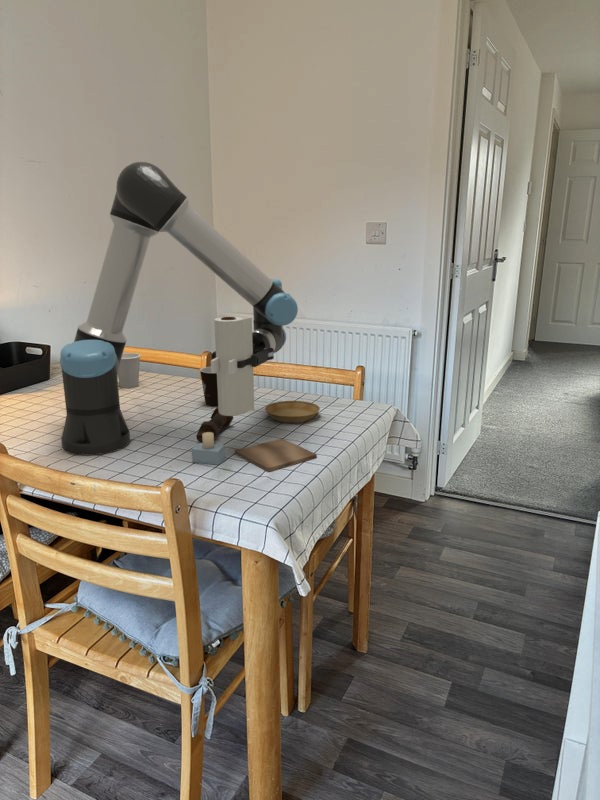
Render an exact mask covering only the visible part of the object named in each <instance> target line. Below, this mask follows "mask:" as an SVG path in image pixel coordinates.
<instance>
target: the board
mask: <svg viewBox="0 0 600 800" xmlns="http://www.w3.org/2000/svg"><path fill="white" fill-rule="evenodd" d="M234 454H235V455H236V456H238V457H240V458H241V459H243V460H246V461H247V462H249V463H250V464H252V465H255V466H257V467H259V469H262V470H264V471H266V472H267V473H269V472H272V471H276V470H281V469H283V468H287V467H289V466H294V465H296V464H299V463H302V462H307V461H310V460H314V459H317V456H318V454H317V453H315V452H312V451H311V450H308V449H307V448H303V447H302V446H299V445H297V444H295V443H293V442H291V441H289V440H287V439H284V438H277V439H274V440H270V441H265V442H262V443H258V444H254V445H253V444H252V445H249V446H247V447H246V446H245V447H242V448H239V449H234Z"/></svg>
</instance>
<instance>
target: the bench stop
mask: <svg viewBox="0 0 600 800" xmlns="http://www.w3.org/2000/svg"><path fill="white" fill-rule="evenodd" d="M202 439H203V443H200V442H198V443H197V444H196V445H195V446H193V448H191V457H192V458H191V459H192V463H199V464H207V465H215V466H219V465H220V464H221V463H222V462H223V461H224V460H225V459H226V445H225V444H224V445H223V444H215V439H214V433H212V432H205V433H203V434H202Z"/></svg>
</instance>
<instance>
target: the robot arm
mask: <svg viewBox="0 0 600 800" xmlns="http://www.w3.org/2000/svg"><path fill="white" fill-rule="evenodd" d="M115 187H116V188H115V189H116V191H115V195H114V198H113V203H112V205H111V210H110V212H109V217H110V219H111V222H112V224H113V227H112V231H111V235H110V238H109V242H108V245H107V248H106V252H105V256H104V260H103V263H102V266H101V270H100V273H99V277H98V281H97V283H96V287H95V290H94V291H95V292H94V294H93V298H92V301H91V305H90V307H89V308H90V310H89V312H88V316H87V319H86V321H85V322H83V323H82V324H80V325H78V327H77V331H76V334H75V337H74V340H73V342H72V343H68V344H66V345H64V346H63V347H62V349H61V350H60V352H59V353H60V358H59V364H60V365H59V366H60V367H61V374H62V385H63V393H64V402H65V410H66V411H65V412H66V417H65V422H64V426H63V429H62V434H61V437H60V440H61V449H62V448H63V449H62V450H63V451H64V452H66V453H69V454H72V455H77V456H81V455H82V456H92V455H93V456H94V455H95V456H96V455H101V454H107V453H111V452H112V453H113V452H115V451H119V450H121V449H123V448H125V447H127V446H128V445H129V444H130V443H131V433H130V432H131V431H130V429H129V427H128V425H127V422H126V420H125V417H124V415H123V412H122V410H121V405H120V403H121V402H120V392H119V391H120V390H119V379H118V368H119V365H120V361H121V357H122V354H123V353H124V350H125V346H126V344H127V338H126V337H125V334H124V333H123V332H124V328H125V324H126V321H127V317H128V314H129V312H130V311H129V310H130V307H131V303H132V301H133V297H134V294H135V290H136V288H137V284H138V281H139V277H140V274H141V270H142V267H143V264H144V261H145V257H146V255H147V254H146V253H147V250H148V248H149V243H150V240H151V238H152V237H154V236H157V235H158V234H159V232H160V233H167V234H169V235H170V237H172V238H173V239H175V240H176V241H177V242H178V243H179V244H180V245H181V246H183V247H184V248H185V249H186V250H187V251H188V252H189V253H190V254H191V255H193V256H194V257H195V258H196V259H197V260H199V261H200V262H201V263H202V264H204V265H205V266H206V267H207V268H208V269H209V270H210V271H211V272H212V273H214V274H215V275H216V276H217V277H218V278H219V279H221V280H222V282H224V283H225V284H227V285H228V286H229V287H230V288H231V289H232V290H233V291H234V292H236V293H237V294H238V295H240V297H242V299H244V300H245V301H246V302H248V303H249V305H251V306H252V308H253V309H252V310H253V311H252V313H253V314H252V315H253V319H252V325H253V330H252V342H253V355H252V356H251V358H248V359H246V360H242V361H238V360H237V358H236V359H232V360H230V361H228V372H229V374H233V373H235V372H236V371H238V368H244V367H245V366H247V365H252V367H253V368H256V367H258V366H260V365H262V364H264V363H266V362H268V361H270V360H274V357H275V354H276V353H277V352H279V351H280V350H281V349H282V348H283V346H284V345H285V344H286V341H287V333H286V330H285V329H284V327H283V326H287V325H290V324H291V323H292V322H293V321H295V319H296V317H297V316H298V312H299V308H298V304H297V302H296V300H295V298H293V296H292V295H291V294H289V293H287V292H285V291H284V290H283V286H282V280H280V279H275V278H270V277H269V276H268V275H267V274H265V273H264V272H263V271H262V270H261V269H260V268H259V267H257V265H255V264H254V263H253V262H252V261H251V260H250V259H249V258H248V257H247V256H246V255H244V254H243V253H242V252H241V251H240V250H239V249H238V248H236V246H235V245H233V244H232V243H231V242H230V240H228V239H227V238H225V236H224V235H222V234H221V233H220V232H219V231H218V230H217V229H216V228H215V227H213V226H212V225H211V224H210V223H209V222H208V221H207V220H206V219H205V218H204V217H202V215H200V214H199V213H198V212H197V211H196V210H195V209H194V208H192V206H190V204H189V197H188V196H186V195H185V194H184V193H183V192H182V191H181V190H180V189H179V188H178V187H177V186H176V185H175V184H174V183H173V182H172V181H171V179H170V178H169V177H168V176H167V174H165V172H164V171H163V170H162V169H161V168H160V167H158V166H157V165H154V164H153V163H150V162H146V161H137V162H132V163H130V164H128V165H127V166H125V167H124V168H123V169H122V170H121V172H120V173H119V176H118V178H117V180H116V186H115ZM210 367H211V373H216V372H217V371H219V358H217V357H216V350H215V351H213V352H212V353H211V360H210Z"/></svg>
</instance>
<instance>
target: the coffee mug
mask: <svg viewBox="0 0 600 800" xmlns="http://www.w3.org/2000/svg"><path fill="white" fill-rule="evenodd" d="M199 372H200V378H201V383H202V384H201V385H202V390H203V397H204V403H205V405H206V406H208V407H212V408H217V407H218V389H217V372H216V373H211V366H206V367H202V368H200V370H199Z"/></svg>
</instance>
